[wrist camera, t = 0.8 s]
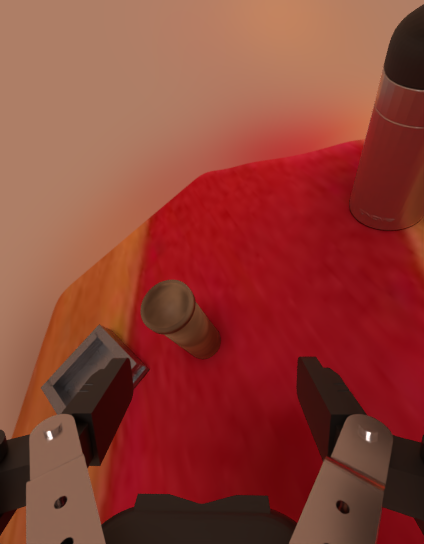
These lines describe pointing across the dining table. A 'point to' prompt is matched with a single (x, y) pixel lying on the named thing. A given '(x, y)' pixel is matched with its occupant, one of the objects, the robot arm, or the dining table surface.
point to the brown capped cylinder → (180, 318)
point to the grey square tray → (89, 366)
